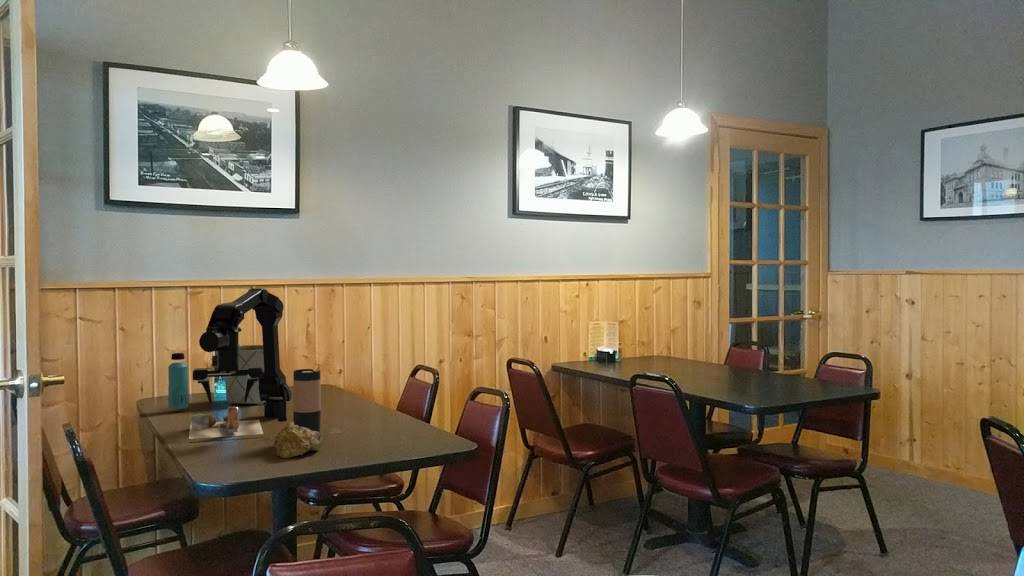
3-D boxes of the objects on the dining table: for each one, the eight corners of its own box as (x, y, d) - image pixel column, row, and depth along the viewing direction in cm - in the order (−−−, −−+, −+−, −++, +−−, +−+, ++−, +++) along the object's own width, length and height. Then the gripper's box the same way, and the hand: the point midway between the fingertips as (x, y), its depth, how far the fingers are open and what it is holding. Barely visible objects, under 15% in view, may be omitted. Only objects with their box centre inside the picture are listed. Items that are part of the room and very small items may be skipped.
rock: (309, 469, 211) (325, 434, 214) (311, 470, 203) (328, 434, 206) (268, 452, 208) (285, 417, 211) (268, 452, 200) (286, 416, 203)
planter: (235, 397, 296) (235, 344, 295) (285, 397, 295) (285, 345, 294) (214, 406, 277) (214, 350, 276) (267, 406, 276) (267, 350, 275)
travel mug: (293, 443, 219) (293, 372, 219) (293, 438, 226) (293, 369, 226) (321, 442, 221) (321, 372, 221) (320, 436, 228) (320, 368, 228)
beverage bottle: (181, 413, 262) (181, 354, 261) (163, 412, 263) (163, 353, 263) (192, 410, 268) (192, 352, 268) (175, 409, 270) (175, 351, 269)
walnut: (216, 425, 238) (216, 413, 238) (216, 427, 235) (216, 415, 234) (203, 425, 237) (203, 414, 237) (203, 428, 233) (203, 416, 233)
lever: (220, 420, 241) (220, 397, 241) (230, 419, 242) (230, 396, 242) (228, 433, 222) (228, 408, 222) (239, 432, 223) (239, 407, 223)
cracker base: (259, 423, 247) (259, 407, 247) (263, 437, 226) (263, 420, 226) (190, 427, 239) (190, 410, 239) (188, 443, 219) (188, 424, 219)
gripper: (260, 345, 234) (260, 397, 234) (193, 347, 227) (193, 400, 227) (262, 348, 223) (262, 403, 224) (192, 350, 217) (192, 406, 217)
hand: (228, 403), depth 223 cm, fingers open, 9 cm apart
